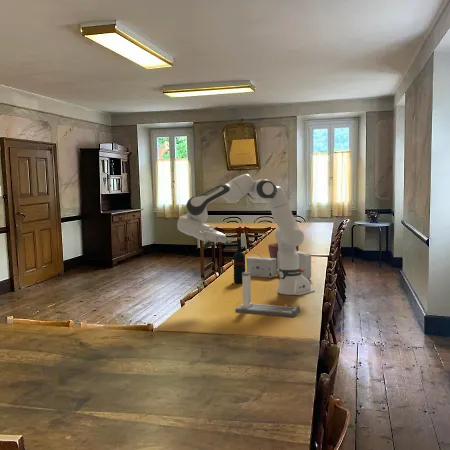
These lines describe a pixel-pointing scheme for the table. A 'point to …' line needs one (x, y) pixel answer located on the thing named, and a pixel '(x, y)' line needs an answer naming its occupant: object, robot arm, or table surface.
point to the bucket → (275, 250)
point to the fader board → (270, 310)
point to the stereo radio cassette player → (262, 266)
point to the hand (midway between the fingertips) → (228, 241)
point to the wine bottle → (239, 263)
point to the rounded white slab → (301, 263)
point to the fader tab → (246, 289)
